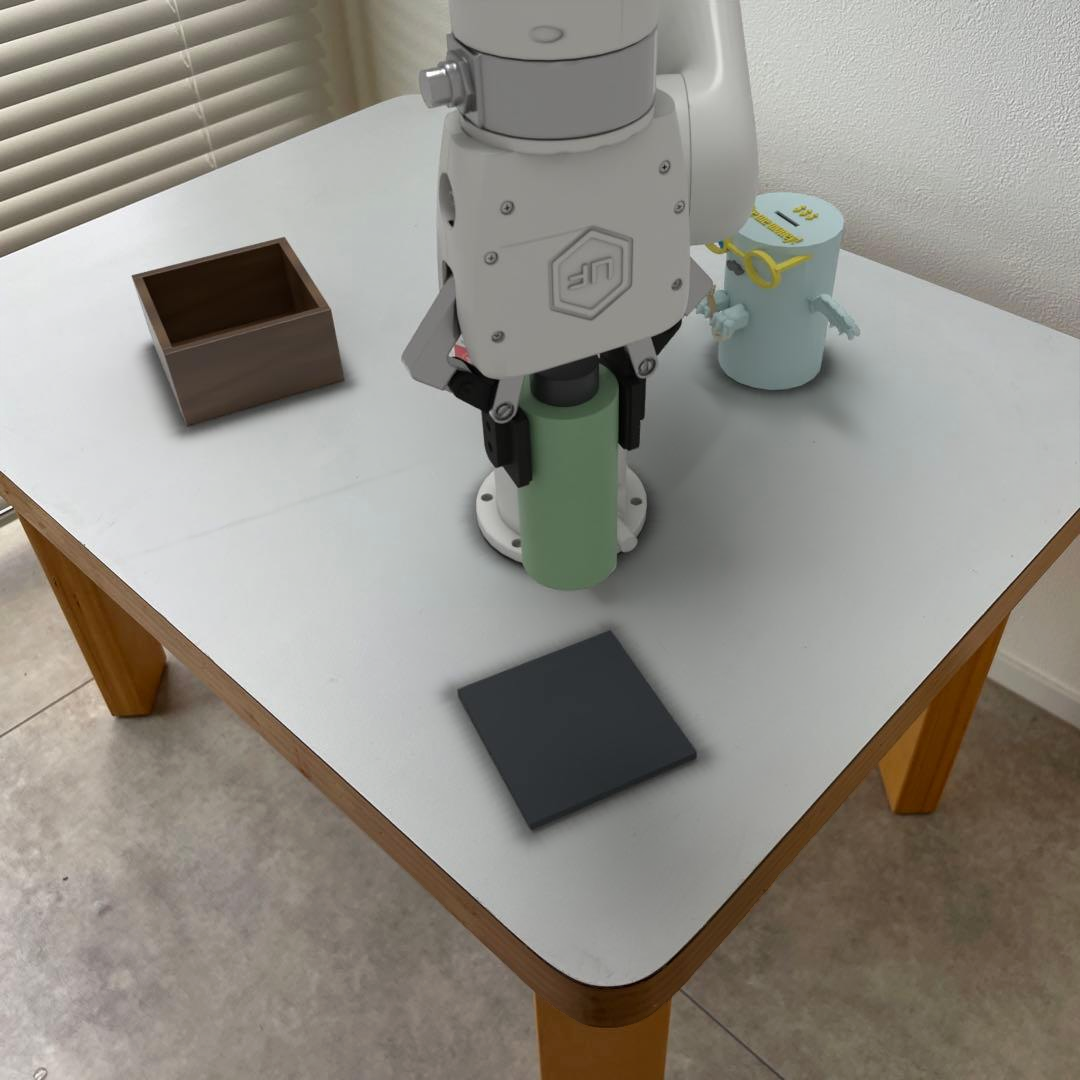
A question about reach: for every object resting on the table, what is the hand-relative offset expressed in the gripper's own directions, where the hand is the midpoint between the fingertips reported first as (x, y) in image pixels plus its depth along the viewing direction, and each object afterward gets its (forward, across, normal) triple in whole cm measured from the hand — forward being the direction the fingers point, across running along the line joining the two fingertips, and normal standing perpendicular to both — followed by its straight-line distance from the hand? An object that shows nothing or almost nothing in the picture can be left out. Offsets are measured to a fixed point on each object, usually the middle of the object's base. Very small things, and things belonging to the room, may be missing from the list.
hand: (566, 448), depth 55 cm
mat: (+22, 0, 0) cm, 22 cm away
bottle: (+7, 0, 0) cm, 7 cm away
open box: (+22, -8, +48) cm, 53 cm away
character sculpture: (+22, +31, +27) cm, 47 cm away
